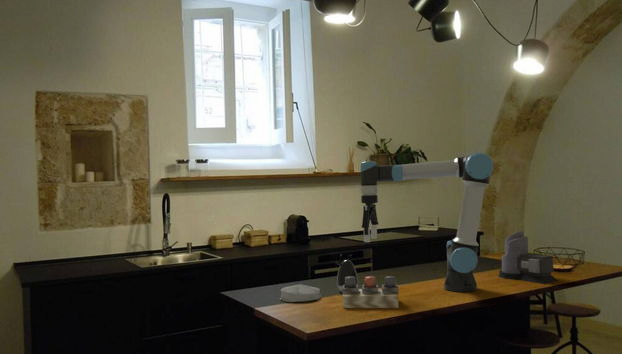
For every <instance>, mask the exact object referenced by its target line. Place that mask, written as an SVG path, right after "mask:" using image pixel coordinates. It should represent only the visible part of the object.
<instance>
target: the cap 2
mask: <svg viewBox="0 0 622 354" xmlns="http://www.w3.org/2000/svg"><path fill="white" fill-rule="evenodd" d="M384 285H385V287H395V285H396V276H392V275H387V276H384Z"/></svg>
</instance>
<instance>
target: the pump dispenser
mask: <svg viewBox="0 0 622 354" xmlns="http://www.w3.org/2000/svg"><path fill="white" fill-rule="evenodd" d="M335 264H336V265H338V266H339V268H338V271H337V277H336V285H337V288H338V289H339V291H340V292H342V286H343V285H345V277H348V276H353V277H355V285H358V286H359V278H358V273H357V270H356V268H355V265H354V263H353V262H352V261H351V260H349V259H344V260H343V261H342V262H339V261H336V262H335Z"/></svg>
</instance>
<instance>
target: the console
mask: <svg viewBox="0 0 622 354" xmlns="http://www.w3.org/2000/svg"><path fill="white" fill-rule="evenodd" d="M399 289H400V288H399V285H398V284H395V287H385V284H382V285H381V288H379V285H378V284H375V287H372V288H368V287H365V284H362V285H361V288H359V284H358V285H355V287H353V288H347V287H345V285H343V286H342V291H341V294H342V308H343V309H399V294H400V293H399V291H400V290H399Z"/></svg>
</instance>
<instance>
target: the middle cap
mask: <svg viewBox="0 0 622 354" xmlns="http://www.w3.org/2000/svg"><path fill="white" fill-rule="evenodd" d="M364 285H365V287H368V288H372V287H375V285H376V277H375V276H373V275H371V276H370V275H368V276H364Z"/></svg>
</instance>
